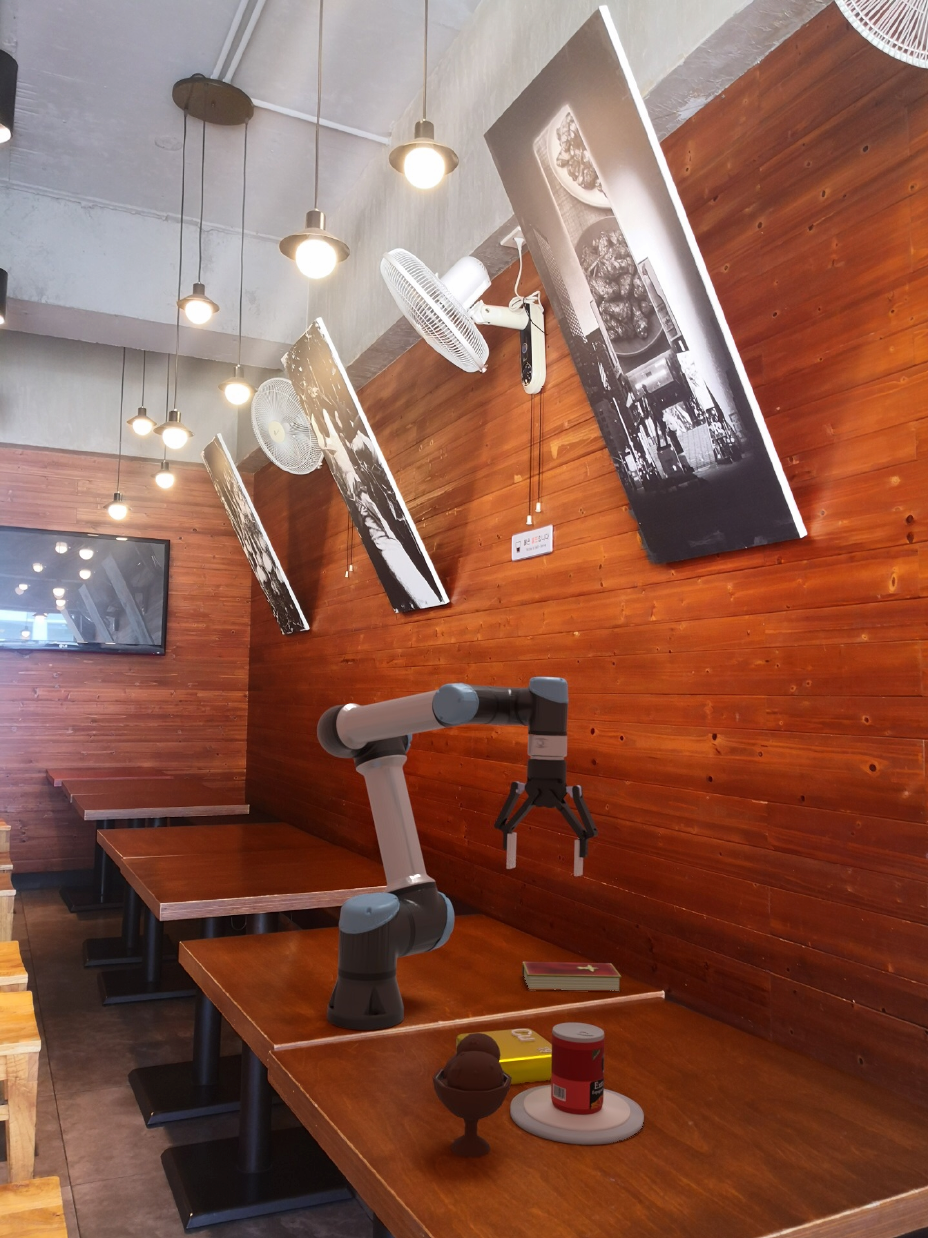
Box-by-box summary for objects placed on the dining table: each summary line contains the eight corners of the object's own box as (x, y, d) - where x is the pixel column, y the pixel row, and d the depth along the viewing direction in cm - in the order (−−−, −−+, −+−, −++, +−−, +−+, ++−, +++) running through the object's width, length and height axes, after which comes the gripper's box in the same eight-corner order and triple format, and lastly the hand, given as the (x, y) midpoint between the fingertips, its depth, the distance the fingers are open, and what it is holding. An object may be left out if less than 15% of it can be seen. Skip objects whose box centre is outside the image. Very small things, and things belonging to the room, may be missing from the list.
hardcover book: (522, 978, 225) (522, 960, 225) (611, 980, 225) (611, 962, 226) (527, 993, 213) (527, 973, 213) (621, 994, 213) (621, 975, 214)
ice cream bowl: (428, 1132, 138) (431, 1024, 139) (505, 1132, 139) (507, 1024, 140) (432, 1166, 127) (435, 1049, 129) (515, 1166, 128) (517, 1049, 130)
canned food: (601, 1118, 140) (602, 1040, 142) (547, 1112, 142) (548, 1035, 143) (605, 1099, 148) (606, 1025, 149) (554, 1093, 150) (555, 1020, 151)
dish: (489, 1126, 140) (489, 1116, 140) (537, 1082, 158) (538, 1072, 158) (622, 1156, 132) (623, 1144, 132) (657, 1105, 150) (657, 1095, 150)
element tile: (452, 1059, 169) (453, 1031, 170) (529, 1051, 174) (530, 1024, 175) (482, 1090, 155) (483, 1059, 156) (566, 1081, 160) (566, 1051, 161)
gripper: (479, 755, 185) (476, 867, 183) (603, 762, 174) (601, 881, 172) (495, 754, 192) (492, 862, 190) (616, 761, 181) (613, 875, 179)
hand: (544, 871), depth 181 cm, fingers open, 13 cm apart
